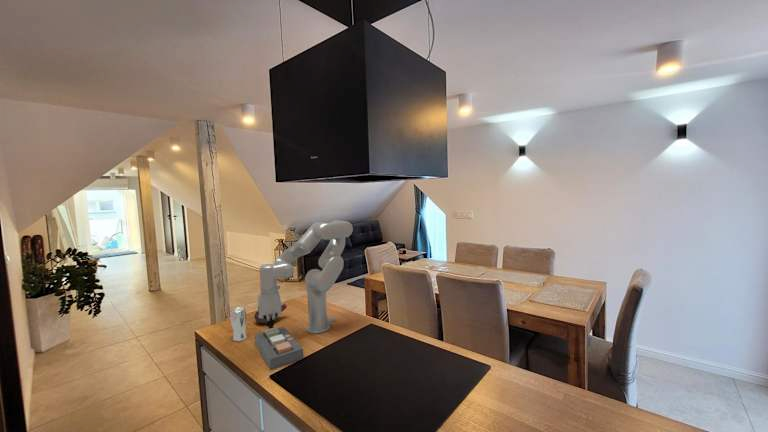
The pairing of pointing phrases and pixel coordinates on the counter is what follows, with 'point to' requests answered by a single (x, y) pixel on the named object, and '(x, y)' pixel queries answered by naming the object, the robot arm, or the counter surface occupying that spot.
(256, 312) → the bowl
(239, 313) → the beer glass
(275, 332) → the sage key
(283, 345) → the terracotta key
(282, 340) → the white key
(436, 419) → the counter surface
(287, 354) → the keyguard board
